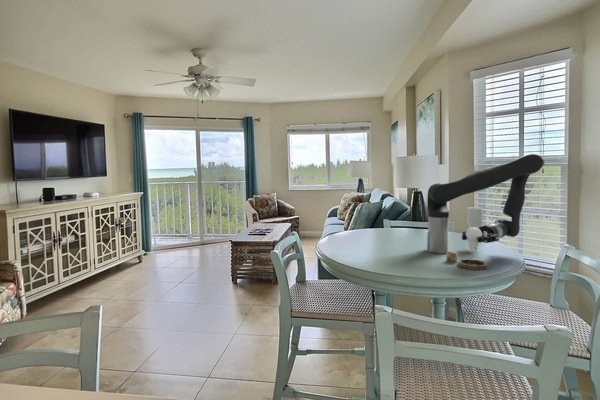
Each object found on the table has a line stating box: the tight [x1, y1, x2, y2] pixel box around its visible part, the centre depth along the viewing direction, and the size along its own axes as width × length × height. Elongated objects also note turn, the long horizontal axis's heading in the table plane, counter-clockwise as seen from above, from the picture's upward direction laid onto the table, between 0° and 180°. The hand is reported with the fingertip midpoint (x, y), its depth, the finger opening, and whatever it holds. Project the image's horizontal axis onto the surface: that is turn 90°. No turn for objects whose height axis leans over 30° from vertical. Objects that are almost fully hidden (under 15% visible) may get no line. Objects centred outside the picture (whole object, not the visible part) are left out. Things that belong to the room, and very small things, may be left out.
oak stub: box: [446, 250, 458, 264], centre depth 151 cm, size 4×4×4 cm
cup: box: [466, 206, 484, 229], centre depth 173 cm, size 7×7×21 cm
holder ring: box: [457, 258, 488, 271], centre depth 144 cm, size 10×10×2 cm
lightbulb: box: [465, 227, 482, 254], centre depth 143 cm, size 6×6×11 cm
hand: (470, 238), depth 141 cm, fingers closed on lightbulb, 5 cm apart
